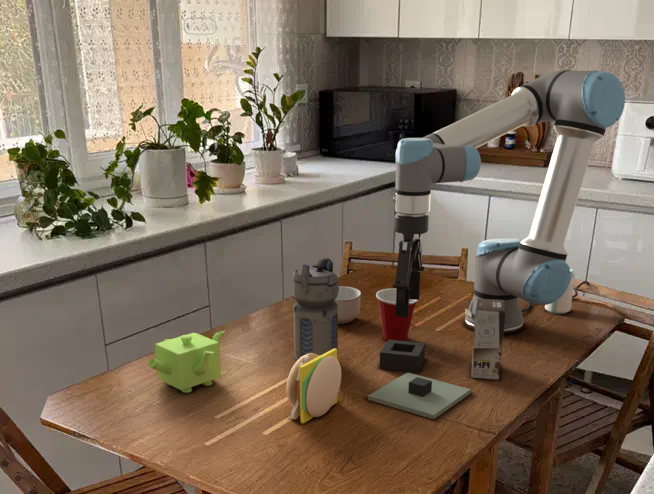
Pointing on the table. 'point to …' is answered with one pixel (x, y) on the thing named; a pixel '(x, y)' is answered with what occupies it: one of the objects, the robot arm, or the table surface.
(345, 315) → the teacup
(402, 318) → the plastic cup
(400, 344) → the dark gray square ring
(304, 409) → the hamburger
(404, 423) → the table surface
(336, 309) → the beverage bottle
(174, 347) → the kettle
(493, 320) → the coffee box
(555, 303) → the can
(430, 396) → the base pad
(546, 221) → the robot arm
